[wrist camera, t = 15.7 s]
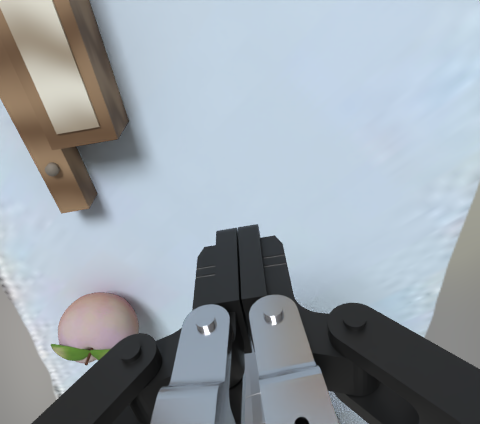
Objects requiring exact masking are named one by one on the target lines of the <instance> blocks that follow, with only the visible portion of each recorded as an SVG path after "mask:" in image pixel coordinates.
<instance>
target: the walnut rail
mask: <svg viewBox="0 0 480 424" xmlns="http://www.w3.org/2000/svg"><path fill="white" fill-rule="evenodd" d="M0 98H1V100H2V102H3V104H4V106H5V108H6V110H7V112H8V113H9V115H10V117H11V119H12V121H13V123H14V125H15V127H16V129H17V130H18V132H19V134H20V136H21V138H22V140H23V142H24V144H25V146H26V147H27V149H28V151H29V153H30V155H31V157H32V159H33V161H34V163H35V164H36V166H37V168H38V170H39V172H40V174H41V176H42V178H43V179H44V181H45V183H46V185H47V187H48V189H49V191H50V193H51V195H52V196H53V198H54V200H55V202H56V204H57V206H58V208H59V210H60V212H61V213H67V212H72V211H78V210H83V209H89V208H90V206H91V204H92V203H93V201H94V199H95V197H96V195H97V192H96V190H95V188H94V185H93V183H92V181H91V179H90V176H89V174H88V172H87V170H86V168H85V165H84V163H83V161H82V159H81V157H80V154H79V152H78V150H77V148H76V146H75V147H69V148H63V149H57V150H52V149H51V147H50V144H49V142H48V140H47V138H46V136H45V134H44V131H43V129H42V127H41V125H40V123H39V121H38V119H37V116H36V114H35V112H34V110H33V108H32V106H31V104H30V101H29V99H28V97H27V95H26V93H25V91H24V88H23V86H22V84H21V82H20V80H19V78H18V76H17V73H16V71H15V69H14V67H13V65H12V63H11V61H10V58H9V56H8V54H7V52H6V50H5V48H4V45H3V43H2V41H1V39H0Z"/></svg>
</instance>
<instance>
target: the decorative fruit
mask: <svg viewBox="0 0 480 424" xmlns="http://www.w3.org/2000/svg"><path fill="white" fill-rule="evenodd" d="M138 329H139V325H138V319H137V316H136V313H135V311H134V310H133V308H132V307H131V305H130V304H129V303H128V302H127V301H126V300H125V299H124V298H122V297H120V296H118V295H114V294H110V293H101V292H99V293H91V294H87V295H84V296H82V297H80V298H79V299H77V300H76V301H75V302H73V303H72V304H71V305H70V306H69V307H68V308H67V310H66V311H65V312H64V314H63V315H62V317H61V319H60V322H59V326H58V338H59V344H60V345H56V344H51V346H52V349H53V350H54V351H55V352H56V353H57V354H58V355H59V356H61V357H62V358H64V359H67V360H72V361H76V362H79V363H85V365H88V363H89V362H92V361H94V360H100V359H101V358H102V357H103V356H104V355H105V354H106V353H107V352H108V351H109V350H110V349H111V348H112V347H114V346H115V345H116V344H117V343H118V342H119V341H121V340H122V339H124V338H126V337H127V336H130V335H133V334H138Z"/></svg>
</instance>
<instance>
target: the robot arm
mask: <svg viewBox="0 0 480 424" xmlns="http://www.w3.org/2000/svg"><path fill="white" fill-rule="evenodd" d="M328 391H333V392H334V393H335V394H336V396H337V397H338V398H339V399H340V400H341V401H342V402H343V403H344V404H346V405H347V406H348V407H349V408H350V409H352V410H353V411H354V412H355V413H357V414H358V415H359V416H360V417H362V418H363V419H364V420H365V421H366V422H368V423H369V424H480V369H478V368H476V367H475V366H473V365H471V364H469V363H468V362H466V361H464V360H462V359H461V358H459V357H457V356H455V355H453V354H452V353H450V352H448V351H446V350H444V349H443V348H441V347H439V346H438V345H436V344H434V343H432V342H430V341H429V340H427V339H425V338H423V337H422V336H420V335H418V334H416V333H415V332H413V331H411V330H409V329H407V328H406V327H404V326H402V325H400V324H399V323H397V322H395V321H393V320H392V319H390V318H388V317H386V316H384V315H383V314H381V313H379V312H377V311H376V310H374V309H372V308H370V307H368V306H366V305H363V304H359V303H346V304H342V305H339V306H337V307H336V308H334V309H333V310H332V311H331V312H330V314H324V313H317V312H312V311H309V310H307V309H305V308H303V307H302V306H301V305H299V304H298V303H297V301H296V300H295V298H294V295H293V290H292V286H291V281H290V276H289V272H288V267H287V263H286V258H285V253H284V248H283V244H282V243H281V242H280V241H279V240H278V239H277V238H276V236H269V237H263V238H260V232H259V227H258V224H256V225H250V226H244V227H238V230H237V228H232V229H226V230H220V231H217V232H216V245H214V246H208V247H204V248H203V250H202V252H201V253H200V255H199V256H198V260H197V270H196V280H195V290H194V300H193V310H192V311H191V312H190V313H189V314H188V315H187V317H186V318H185V320H184V322H183V325H182V328H181V329H180V330H178V331H177V332H175V333H173V334H171V335H169V336H167V337H164V338H162V339H160V340H157V341H155V340H154V339H153V338H152V337H151V336H150V335H147V334H141V333H139V334H133V335H130V336H127V337H126V338H124V339H122V340H121V341H119V342H118V343H117V344H116V345H115V346H114V347H112V348H111V349H110V350H109V351H108V352H107V353H106V354H105V355H104V356H103V357H102V358H101V359H100V360H99V361H98V362H97V363H95V364H94V365H93V366H92V367H91V368H90V369H89V370H88V371H87V372H86V373H85V374H84V375H83V376H82V377H81V378H79V379H78V380H77V381H76V382H75V383H74V384H73V385H72V386H71V387H70V388H69V389H68V390H67V391H66V392H65V393H64V394H62V395H61V396H60V397H59V398H58V399H57V400H56V401H55V402H54V403H53V404H52V405H51V406H50V407H49V408H48V409H46V410H45V411H44V412H43V413H42V414H41V415H40V416H39V417H38V418H37V419H36V420H35V421H34V422H33V423H32V424H339V423H338V420H337V417H336V414H335V411H334V408H333V405H332V402H331V399H330V396H329V393H328Z"/></svg>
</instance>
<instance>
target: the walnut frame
mask: <svg viewBox="0 0 480 424" xmlns="http://www.w3.org/2000/svg"><path fill="white" fill-rule="evenodd" d="M0 39H1V41H2V43H3V45H4V48H5V50H6V52H7V54H8V56H9V58H10V61H11V63H12V65H13V67H14V69H15V71H16V73H17V76H18V78H19V80H20V82H21V84H22V86H23V88H24V91H25V93H26V95H27V97H28V99H29V101H30V104H31V106H32V108H33V110H34V112H35V114H36V116H37V119H38V121H39V123H40V125H41V127H42V129H43V131H44V134H45V136H46V138H47V140H48V142H49V144H50V147H51V149H52V150H57V149H63V148H69V147H75V146H81V145H87V144H93V143H99V142H104V141H110V140H116V139H118V138H119V137H120V135H121V133H122V132H123V130H124V129H125V127H126V125H127V124H128V122H129V120H128V117H127V114H126V111H125V108H124V105H123V102H122V99H121V96H120V92H119V89H118V86H117V83H116V80H115V77H114V74H113V71H112V68H111V65H110V62H109V59H108V56H107V53H106V50H105V47H104V44H103V41H102V38H101V35H100V32H99V29H98V26H97V23H96V20H95V17H94V14H93V11H92V8H91V5H90V2H89V0H0Z"/></svg>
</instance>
